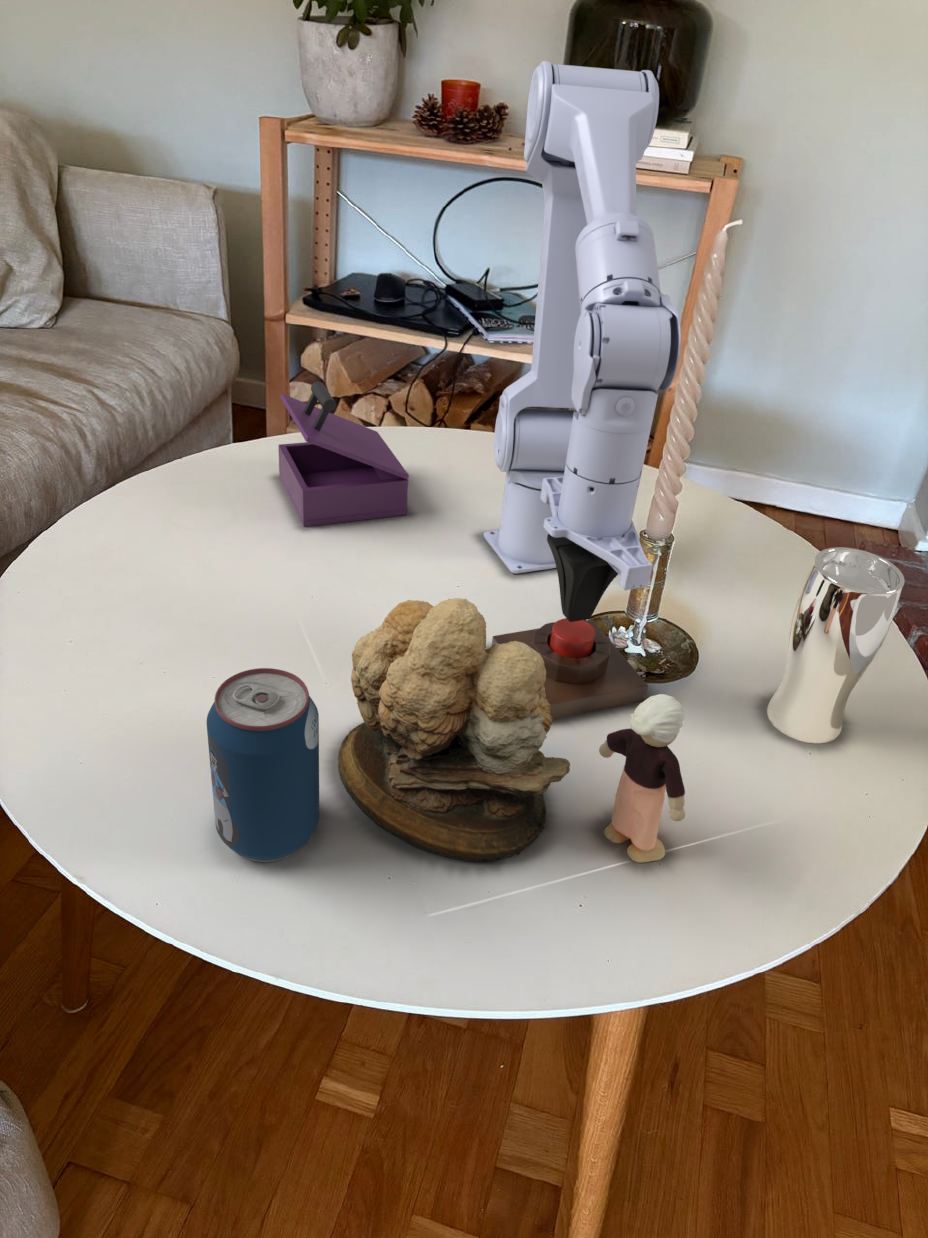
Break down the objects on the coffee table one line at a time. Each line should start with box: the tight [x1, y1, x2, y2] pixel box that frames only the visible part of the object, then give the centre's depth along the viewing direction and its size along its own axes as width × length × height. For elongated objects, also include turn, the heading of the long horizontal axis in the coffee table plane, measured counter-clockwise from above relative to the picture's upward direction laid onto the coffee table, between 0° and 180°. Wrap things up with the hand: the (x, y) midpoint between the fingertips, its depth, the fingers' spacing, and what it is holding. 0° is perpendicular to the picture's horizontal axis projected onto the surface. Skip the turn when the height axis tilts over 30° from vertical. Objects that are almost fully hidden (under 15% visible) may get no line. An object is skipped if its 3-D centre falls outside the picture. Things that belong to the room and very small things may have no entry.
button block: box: [491, 619, 649, 720], centre depth 82 cm, size 10×10×4 cm
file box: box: [277, 441, 409, 527], centre depth 105 cm, size 11×11×4 cm
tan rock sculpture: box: [337, 597, 571, 862], centre depth 66 cm, size 18×12×17 cm, turn 56°
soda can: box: [206, 667, 320, 863], centre depth 62 cm, size 7×7×12 cm
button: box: [550, 617, 595, 659], centre depth 81 cm, size 4×4×2 cm
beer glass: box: [766, 546, 905, 744], centre depth 76 cm, size 7×7×15 cm
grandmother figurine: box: [598, 693, 686, 864], centre depth 65 cm, size 8×4×13 cm, turn 48°
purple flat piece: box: [279, 380, 410, 480], centre depth 102 cm, size 12×11×4 cm
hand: (576, 615), depth 79 cm, fingers closed
